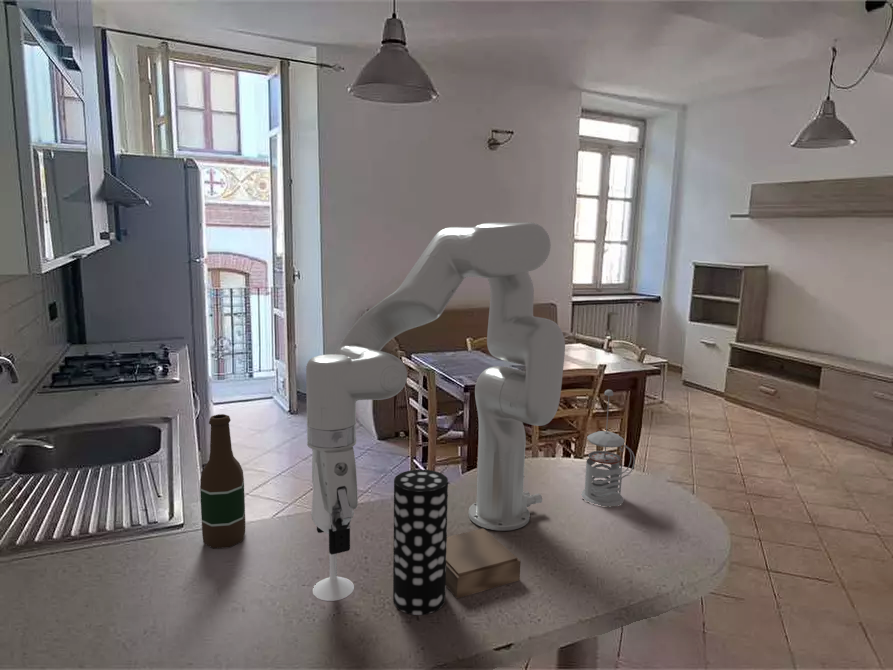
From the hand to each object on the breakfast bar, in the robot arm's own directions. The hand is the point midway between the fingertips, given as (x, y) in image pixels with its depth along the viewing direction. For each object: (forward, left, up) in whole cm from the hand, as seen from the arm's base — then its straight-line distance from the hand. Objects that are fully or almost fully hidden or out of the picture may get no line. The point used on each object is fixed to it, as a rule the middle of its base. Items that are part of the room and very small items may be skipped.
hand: (332, 540), depth 94 cm
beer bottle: (+14, -24, -9) cm, 29 cm away
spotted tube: (-12, +8, -9) cm, 17 cm away
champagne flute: (0, 0, -9) cm, 9 cm away
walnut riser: (-23, +5, -8) cm, 25 cm away
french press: (-65, -8, -9) cm, 66 cm away
